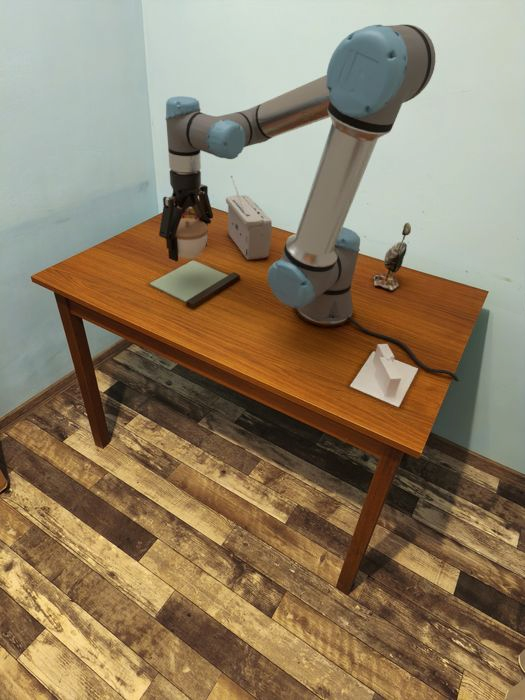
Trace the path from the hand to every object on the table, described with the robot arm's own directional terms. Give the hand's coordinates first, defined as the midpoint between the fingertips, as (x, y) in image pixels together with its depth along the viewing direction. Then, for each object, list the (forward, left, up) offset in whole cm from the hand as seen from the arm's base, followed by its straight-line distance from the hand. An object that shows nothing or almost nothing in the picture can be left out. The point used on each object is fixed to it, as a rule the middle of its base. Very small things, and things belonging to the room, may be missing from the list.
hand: (188, 252), depth 125 cm
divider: (-9, 0, -9) cm, 13 cm away
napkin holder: (-61, +2, -9) cm, 62 cm away
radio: (+1, -28, -9) cm, 29 cm away
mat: (0, 0, -9) cm, 9 cm away
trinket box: (0, 0, -1) cm, 1 cm away
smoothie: (+16, -17, -9) cm, 25 cm away
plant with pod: (-44, -38, -9) cm, 59 cm away
